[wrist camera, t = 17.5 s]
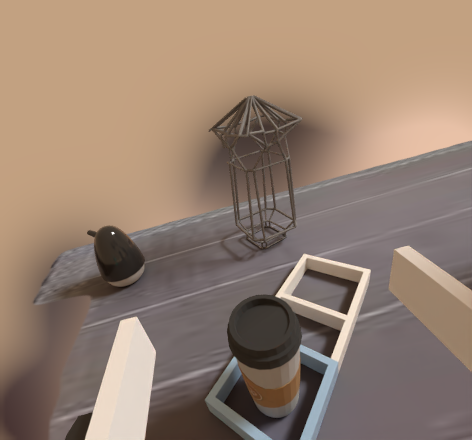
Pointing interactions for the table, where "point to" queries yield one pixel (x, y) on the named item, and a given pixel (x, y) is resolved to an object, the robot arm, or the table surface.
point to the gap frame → (301, 347)
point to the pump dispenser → (117, 256)
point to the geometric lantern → (246, 106)
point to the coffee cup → (267, 352)
